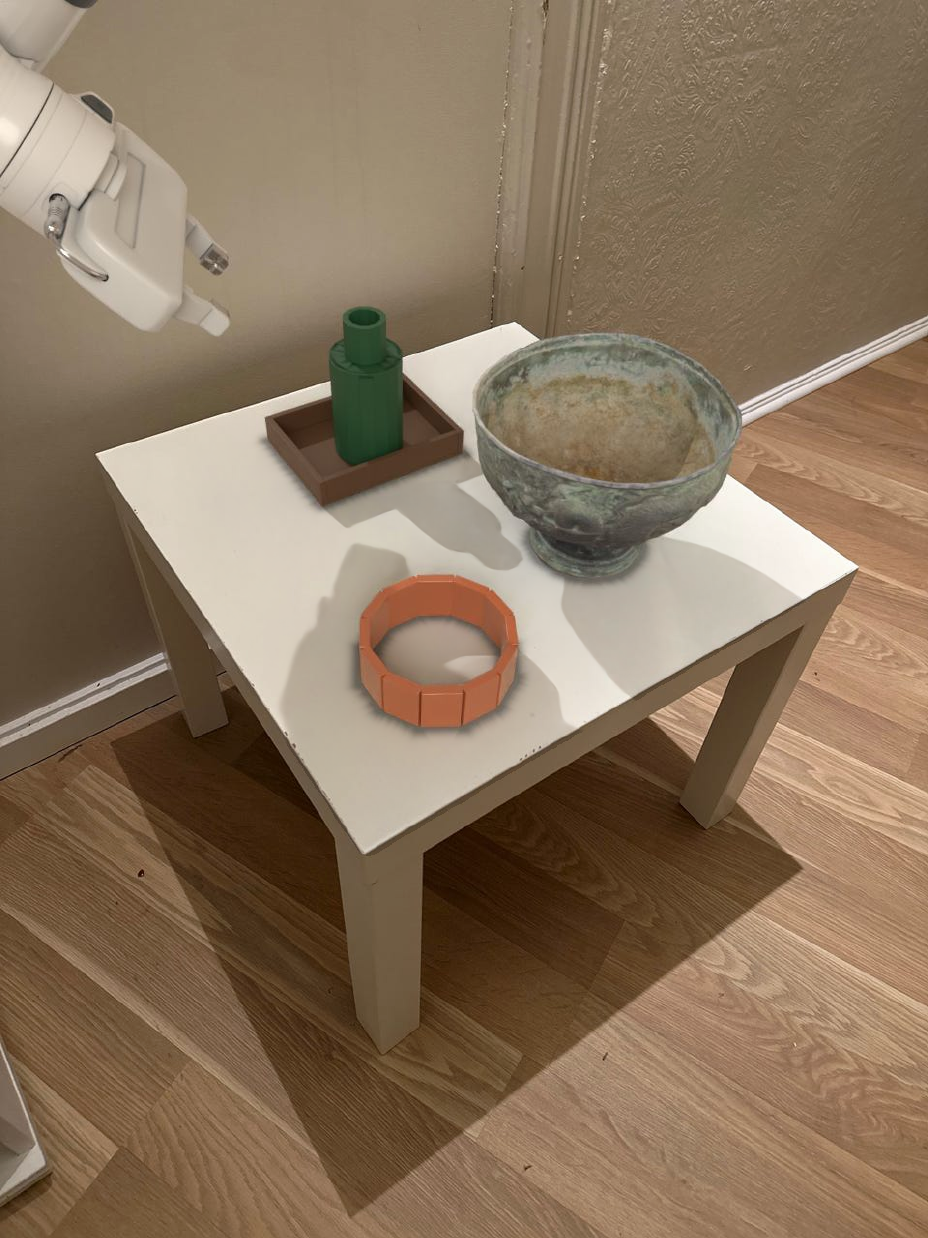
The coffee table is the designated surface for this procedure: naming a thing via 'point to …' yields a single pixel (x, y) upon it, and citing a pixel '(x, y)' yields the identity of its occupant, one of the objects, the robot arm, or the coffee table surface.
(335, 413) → the bottle
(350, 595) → the coffee table surface
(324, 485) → the tray
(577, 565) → the bowl
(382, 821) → the coffee table surface
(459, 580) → the orange ring
